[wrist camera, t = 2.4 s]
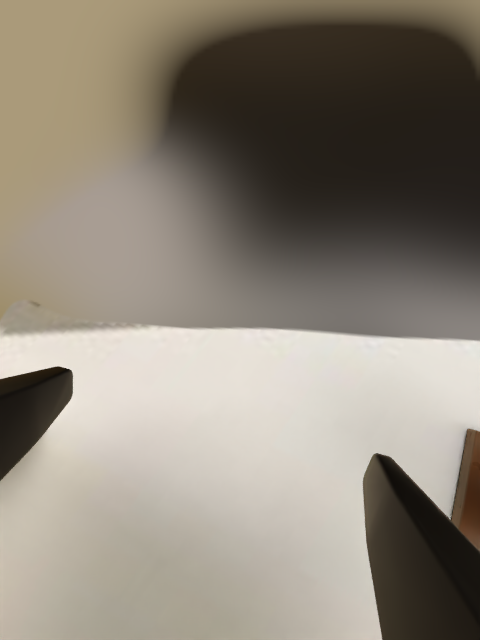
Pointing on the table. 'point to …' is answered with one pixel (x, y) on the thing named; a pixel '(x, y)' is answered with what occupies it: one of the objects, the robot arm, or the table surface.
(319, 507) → the table surface
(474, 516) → the stand
